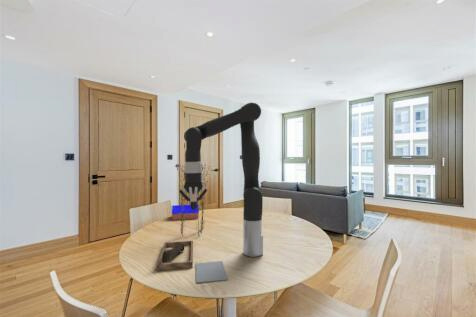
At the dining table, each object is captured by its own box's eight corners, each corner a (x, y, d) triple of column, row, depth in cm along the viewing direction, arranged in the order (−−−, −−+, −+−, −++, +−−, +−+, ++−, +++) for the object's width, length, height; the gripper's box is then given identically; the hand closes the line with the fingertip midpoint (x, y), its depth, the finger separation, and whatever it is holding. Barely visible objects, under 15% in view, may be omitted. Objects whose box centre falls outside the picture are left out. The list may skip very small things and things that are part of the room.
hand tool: (177, 250, 116) (177, 241, 116) (184, 251, 115) (184, 242, 115) (156, 263, 97) (156, 252, 98) (164, 264, 96) (165, 253, 97)
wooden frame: (193, 245, 124) (193, 240, 124) (192, 267, 99) (192, 261, 99) (164, 247, 121) (164, 242, 121) (156, 270, 96) (156, 264, 96)
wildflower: (213, 230, 150) (213, 162, 149) (206, 243, 127) (206, 163, 127) (180, 229, 151) (180, 162, 151) (167, 242, 128) (167, 163, 128)
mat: (222, 261, 104) (222, 260, 104) (227, 280, 88) (227, 279, 88) (196, 264, 102) (196, 263, 102) (196, 283, 86) (196, 282, 86)
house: (198, 221, 172) (198, 206, 172) (171, 222, 168) (171, 207, 168) (198, 217, 184) (198, 202, 184) (172, 218, 179) (172, 203, 179)
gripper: (207, 171, 107) (208, 207, 107) (178, 171, 105) (179, 208, 105) (208, 171, 100) (208, 210, 100) (177, 172, 98) (178, 212, 98)
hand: (193, 209), depth 102 cm, fingers closed
